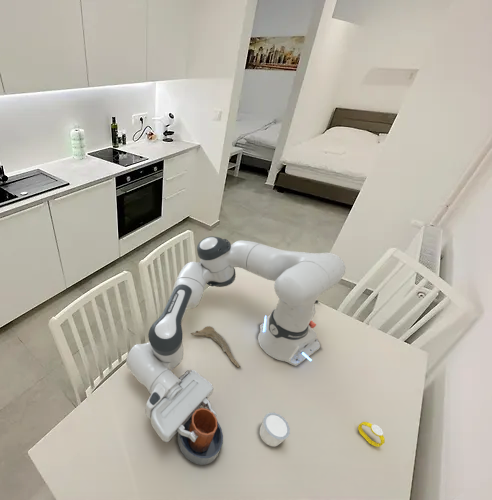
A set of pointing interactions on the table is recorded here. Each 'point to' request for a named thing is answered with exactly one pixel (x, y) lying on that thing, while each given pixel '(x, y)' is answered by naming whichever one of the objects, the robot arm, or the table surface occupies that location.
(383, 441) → the watch
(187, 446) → the wide pot
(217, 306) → the table surface
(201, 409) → the orange cup
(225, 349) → the jawbone
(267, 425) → the white cylinder
